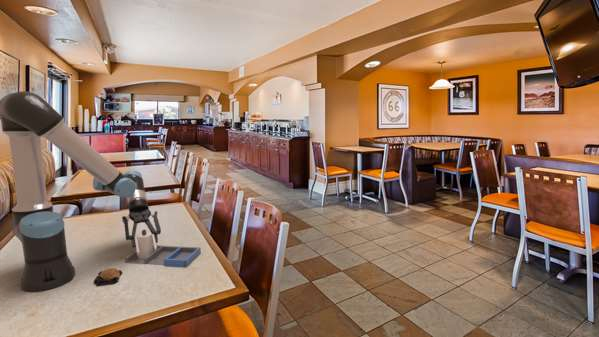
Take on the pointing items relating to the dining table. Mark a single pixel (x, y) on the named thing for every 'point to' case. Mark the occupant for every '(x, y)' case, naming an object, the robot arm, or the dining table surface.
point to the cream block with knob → (145, 244)
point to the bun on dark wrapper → (107, 277)
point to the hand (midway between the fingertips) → (147, 251)
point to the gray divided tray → (167, 256)
